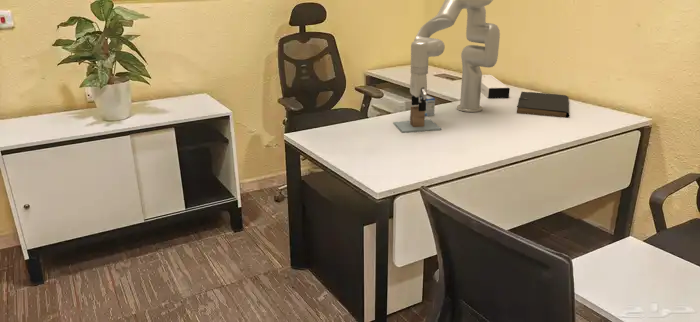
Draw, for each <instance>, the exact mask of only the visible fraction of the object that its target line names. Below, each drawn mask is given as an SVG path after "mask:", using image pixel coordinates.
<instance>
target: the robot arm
mask: <svg viewBox="0 0 700 322" xmlns="http://www.w3.org/2000/svg"><path fill="white" fill-rule="evenodd" d="M493 1H494V0H444V1H443V3H442V5H441V7H440V9H439V11H438V13H437V14H436V15H435V16H434V17H432V18H430V19H429V20H428V21H426V22H425V23H424V24H423V25H421V27H420V28H419V29H418V32H417V33H416V36H415V37H414V39H413V41H412V42H411V43H410V85H409V93H410V94H411V106H418V104H419V111H426V97H427V96H428V94H427V93H428V79H427V77H428V75H427V74H429V57H433V58H434V57H439V56H441V55H442V54H443V53H444V51H445V43H444V42H443V40H441V39H439V38H433V37H431V36H433V35H434V34H436V33H437V32H439V31H442V30H445V29H448V28H451V27H452V26H454V25H455V23H456V21H457V19H458V18H459V16H460V14H461V11H462V10H464V9H465V10H466V12H467V14H466V15H467V17H466V28H465V29H466V32H465V37H466V40H467V41H468V42H471V43H476V44H477V45H476V44H469V45H466V46H465V47H463V49H462V50H461V55H460V56H461V66H462V71H461V73H462V74H461V88H460V90H461V91H460V99H459V100H460V102H459V104H457V105H456V109H457V110H458V111H461V112H464V113H465V112H466V113H477V112H481V111H483V106H482V105H481V104H480V103H481V94H482V93H481V82H482V75H483V73H482V68H488V69H489V68H493V67H495V65H496V64H497V61H498V59H499V58H498V57H499V49H500V38H501V37H500V36H501V33H500V28H499V26H498V25H497V24H495V23H491V22H487V20H486V17H487V11H486V6H489V5H490V4H491V3H492V2H493ZM478 44H482V45H478ZM483 44H484V45H483ZM481 67H482V68H481ZM422 97H423V98H422ZM421 98H422V99H421Z"/></svg>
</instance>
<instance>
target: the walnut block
mask: <svg viewBox="0 0 700 322" xmlns="http://www.w3.org/2000/svg"><path fill="white" fill-rule="evenodd" d="M409 117H410V118H409V121H410V124H411V125H412V126H413V127H423V126H424V120H426V119H425V117H426V116H425V111H419V106H418V105H415V106H410V116H409Z"/></svg>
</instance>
